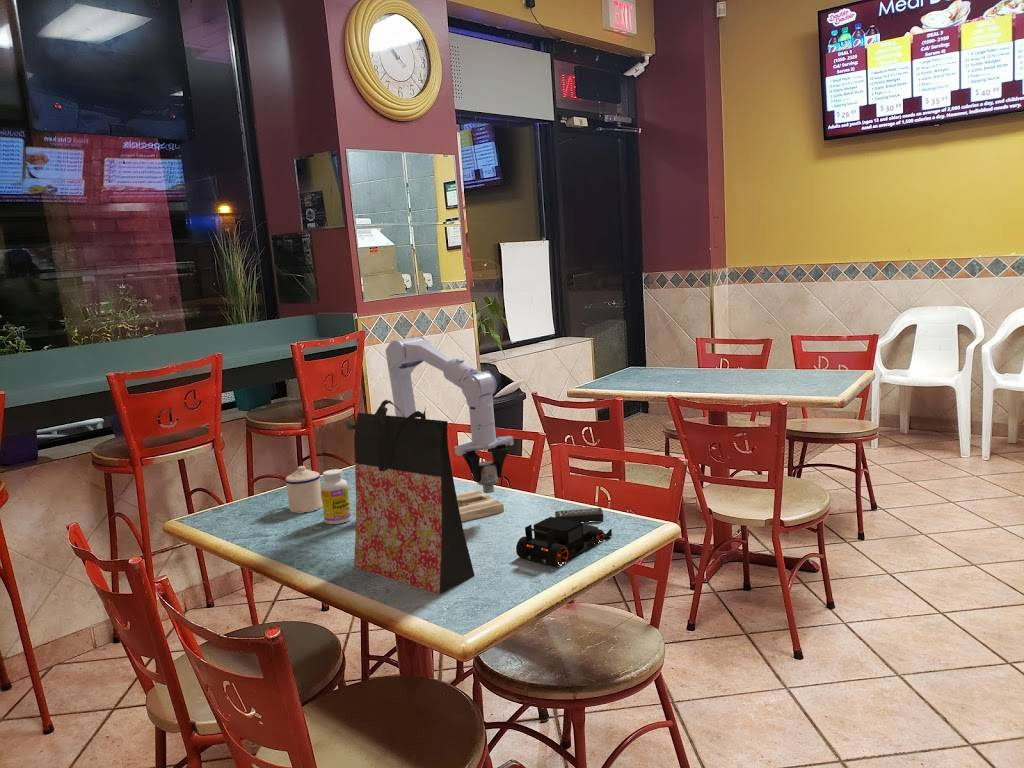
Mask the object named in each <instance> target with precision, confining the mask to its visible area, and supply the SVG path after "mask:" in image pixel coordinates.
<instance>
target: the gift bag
mask: <svg viewBox="0 0 1024 768" xmlns="http://www.w3.org/2000/svg"><path fill="white" fill-rule="evenodd" d="M388 404H390V405H392V406H395V405H394V402H392V401H391V400H389V399H385V400H383V401H382V402H380V405H379V407H378V408H377V409H376V412H375V413H367V412H366V413H365V412H357V414H356V420H355V421H356V422H355V424H352V423H349V422H346V421H345V425H346V427H347V430H348V431H350V430H352V431H353V430H354V436H353V439H354V440H353V442H354V444H353V445H354V468H355V469H354V472H355V473H354V474H355V477H354V478H355V533H354V534H355V538H354V540H355V541H354V557H353V558H354V559H353V568H354V567H355V568H354V569H357V568H358V570H360V569H361V570H360V571H364V572H367V573H371V574H373V575H376V574H377V576H380V577H383V578H386V579H390V580H393V581H396V582H400V583H403V584H406V585H409V586H413V587H415V588H419V589H422V590H425V591H428V592H431V593H435V594H438V595H440V594H442V593H444V592H446V591H448V590H450V589H452V588H453V587H455V586H458V585H459V584H462V583H464V582H465V581H467V580H469V579H471V578H473V577H475V576H476V575H475V571H474V567H473V564H472V560H471V555H470V552H469V549H468V544H467V539H466V536H465V535H466V534H465V531H464V526H463V522H462V521H461V517H460V512H459V507H458V502H457V496H456V494H457V492H456V486H455V480H454V474H453V468H452V464H451V457H450V451H449V442H448V425H449V424H448V420H441V419H440V420H438V419H429V418H428V419H427V417H426V406H425V408H424V411H423V412H421V411H419V410H416V412H414V413H413V414H411V415H410V416H409V417H404V415H403V414H402V415H403V417H399V416H396V415H387V412H388V407H386V405H388ZM395 407H396V406H395ZM396 408H397V409H398V410H399V411H400V409H399V408H398V407H396ZM400 412H401V411H400ZM401 413H402V412H401ZM416 417H417V418H416Z"/></svg>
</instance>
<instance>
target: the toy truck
mask: <svg viewBox="0 0 1024 768" xmlns="http://www.w3.org/2000/svg"><path fill="white" fill-rule="evenodd" d="M524 529H525V530H524V533H525V536H522V537H520V538H519V539H518V541H517V542H516V546H515V553H516V555H517V556H518V558H521V559H525V560H530V561H534V562H537V563H541V564H545V565H550V566H553V565H554V566H553V567H557V566H560V565H559V564H562V562H564V563H565V562H567V563H568V561H569V560H571V559H573V558H575V557H576V556H578V555H579V554H582V553H583V552H586V551H587V550H589V549H590V548H592V547H594V546H595V545H599V544H598V542H599V540H600V541H603V542H604V540H605V539H608V538H611V537H612V536H613V531H612V528H610V529H609V530H608V531H607V532H606V533H605V532H604V530H602V529H599V527H598V526H595V525H589V524H587V523H581V522H576V521H570V520H565V519H560V518H555V516H554V517H553V516H549V517H547V518H545V519H543V520H540V521H538V522H537V523H535V524H533V527H532V524H529V525H527V526H525V527H524ZM533 533H534V534H533ZM533 536H534V537H533ZM594 543H595V544H594ZM599 543H600V542H599ZM558 562H559V564H558Z"/></svg>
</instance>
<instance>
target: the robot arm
mask: <svg viewBox="0 0 1024 768" xmlns="http://www.w3.org/2000/svg"><path fill="white" fill-rule="evenodd" d="M431 341H432V340H430V339H427V338H426V337H424V336H421V335H418V336H417V337H411V338H404V339H397V340H396V339H393V340H391V341H390V342H389V343H388V346H387V347H386V349H385V356H386V362H387V368H388V369H387V370H388V375H389V381H390V382H389V383H390V386H391V387H390V388H391V393H392V400H393V404H394V405H395V406H396V407H398V408H399V409H400V411H401V412H402V413H401V412H400V411H399V410H398V409H397V408H396V407H395V406H394V405H393V406H394V413H395V416H399V417H403V415H404V417H409V416H410V415H411V414H413V413H414V412H416V411H417V409H416V407H417V406H416V401H415V395H414V389H413V382H412V373H413V371H415V369H416V368H417V367H418V366H419V365H421V364H423V363H426V364H428V365H431V367H433V368H436V369H438V370H440V371H441V372H443V377H444V379H445V380H447V381H449V382H450V383H452V384H454V385H455V386H456V387H458V388H459V389H461V391H462V394H463V396H464V398H465V399H466V404H467V406H468V409H469V411H468V412H469V421H470V422H469V423H470V433H471V441H470V442H466V443H463V444H459V445H455V446H454V454H455V455H456V456H460V457H461V456H462V457H463V459H464V460H465V462H466V464H467V465H468V467H469V470H470V472H471V476H472V478H473V481H474V482H475V483H477V484H478V482H480V473H479V463H480V457H481V456H480V455H478V454H477V453H478V452H481V451H486V450H490V452H491V456H492V461H494V462H496V463H497V471H498V479H500V478H502V472H503V467H504V463H505V460H506V457H507V455H508V454H509V448H508V447H507V446H513V445H514V436H511V435H506V436H498V437H497V436H496V435H497V434H496V425H495V413H494V412H495V411H494V402H493V401H494V400H493V399H494V398H493V395H494V393H496V390H497V380H496V377H495V376H494V375H493V374H492V373H491V372H490V371H489V370H483V371H480V370H478V368H477V367H473V366H471V365H470V364H468V363H466V362H465V360H464V359H463V358H461V357H459V358H455V357H454V358H452V359H451V358H450V357H448V356H447V355H446V354H444V353H443V352H441V351H440V350H439V349H437V348H436V347H435V346H433V345H432V342H431ZM402 414H403V415H402ZM416 418H418V417H416Z"/></svg>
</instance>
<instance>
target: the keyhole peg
mask: <svg viewBox="0 0 1024 768" xmlns="http://www.w3.org/2000/svg"><path fill="white" fill-rule="evenodd" d="M479 473H480V482H478V483H477V484H478V485H479V486H482V490H483V491H482V493H484V494H492V493H494V492H495V486H494V485H496V484H498V483H499V478H498V471H497V463H496V462H494V461H493V460H487V461H486V460H485V461H479Z"/></svg>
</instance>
